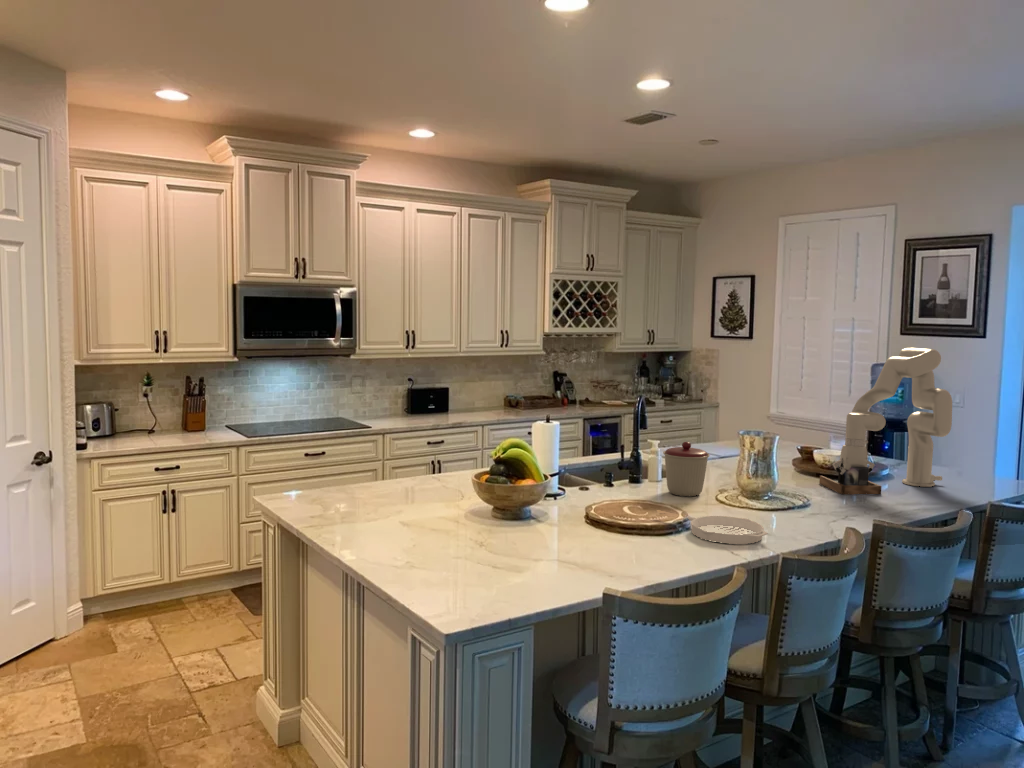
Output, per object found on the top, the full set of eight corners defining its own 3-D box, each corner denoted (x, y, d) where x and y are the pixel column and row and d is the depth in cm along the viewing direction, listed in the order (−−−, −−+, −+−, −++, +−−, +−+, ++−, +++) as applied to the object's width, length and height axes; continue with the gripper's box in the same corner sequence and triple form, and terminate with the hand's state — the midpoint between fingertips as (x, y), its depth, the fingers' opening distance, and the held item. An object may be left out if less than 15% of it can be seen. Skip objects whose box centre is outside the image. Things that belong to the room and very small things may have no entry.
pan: (741, 552, 234) (742, 540, 234) (635, 523, 264) (635, 513, 264) (783, 538, 251) (783, 527, 250) (678, 512, 281) (678, 503, 280)
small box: (836, 488, 326) (837, 463, 325) (847, 487, 328) (849, 462, 327) (856, 493, 316) (858, 468, 315) (868, 492, 319) (869, 467, 318)
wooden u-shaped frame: (856, 483, 335) (856, 475, 335) (880, 494, 315) (881, 486, 315) (819, 483, 334) (819, 475, 334) (841, 494, 314) (842, 485, 314)
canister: (684, 501, 298) (686, 447, 296) (652, 491, 313) (654, 440, 311) (717, 496, 307) (719, 443, 306) (684, 487, 323) (686, 436, 321)
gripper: (870, 441, 325) (868, 481, 326) (830, 441, 324) (828, 481, 325) (880, 444, 317) (877, 485, 319) (839, 444, 316) (836, 485, 318)
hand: (852, 483), depth 322 cm, fingers open, 9 cm apart
